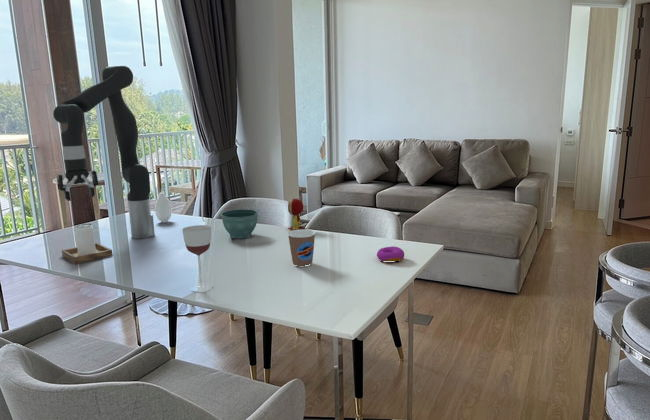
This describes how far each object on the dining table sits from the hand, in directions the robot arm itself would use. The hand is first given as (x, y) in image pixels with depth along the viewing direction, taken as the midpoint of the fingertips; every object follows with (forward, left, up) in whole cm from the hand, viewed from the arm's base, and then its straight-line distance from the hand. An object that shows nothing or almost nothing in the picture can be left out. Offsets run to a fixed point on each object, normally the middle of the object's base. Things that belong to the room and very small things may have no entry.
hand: (80, 198), depth 189 cm
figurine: (-82, +35, -23) cm, 92 cm away
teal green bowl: (-58, +24, -23) cm, 67 cm away
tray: (+1, +1, -23) cm, 23 cm away
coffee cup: (-50, +74, -23) cm, 92 cm away
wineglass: (-12, +67, -23) cm, 72 cm away
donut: (-75, +95, -24) cm, 123 cm away
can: (0, +1, -23) cm, 23 cm away
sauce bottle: (-48, -29, -23) cm, 61 cm away
